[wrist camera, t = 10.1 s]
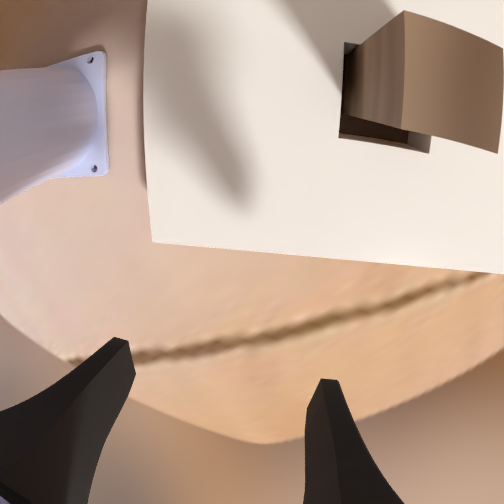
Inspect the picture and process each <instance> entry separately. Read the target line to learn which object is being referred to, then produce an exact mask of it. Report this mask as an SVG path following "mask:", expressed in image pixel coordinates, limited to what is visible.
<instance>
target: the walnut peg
mask: <svg viewBox="0 0 504 504" xmlns="http://www.w3.org/2000/svg"><path fill="white" fill-rule="evenodd" d="M503 92H504V56H503V48H501V47H499V46H497V45H495V44H493V43H491V42H489V41H487V40H485V39H483V38H481V37H478V36H476V35H474V34H472V33H469V32H467V31H464V30H462V29H459V28H457V27H454V26H452V25H449V24H446V23H444V22H441V21H438V20H435V19H432V18H429V17H426V16H423V15H419V14H416V13H413V12H409V11H405V10H403V11H402V12H401V13H399V14H398V15H397V16H395V17H394V18H393V19H392V20H390V21H389V22H388V23H386V24H385V25H384V26H383V27H381V28H380V29H379V30H378V31H376V32H375V33H374V34H373V35H371V36H370V37H369V38H368V39H367V40H365V41H364V42H363V43H362V44H361V45H359V46H358V47H357V48H356V49H355V50H353V51H352V52H351V53H350V54H349V55H347V56H346V61H345V88H344V107H343V114H344V115H348V116H353V117H357V118H361V119H365V120H369V121H373V122H377V123H381V124H385V125H388V126H392V127H395V128H399V129H403V130H408V131H413V132H418V133H422V134H427V135H431V136H435V137H440V138H444V139H448V140H451V141H455V142H459V143H463V144H466V145H470V146H473V147H477V148H480V149H483V150H486V151H489V152H493V153H496V154H498V148H499V141H500V133H501V123H502V111H503Z"/></svg>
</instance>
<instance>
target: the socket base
mask: <svg viewBox="0 0 504 504" xmlns="http://www.w3.org/2000/svg"><path fill="white" fill-rule="evenodd" d="M403 10H405V11H409V12H413V13H416V14H419V15H423V16H426V17H429V18H432V19H435V20H438V21H441V22H444V23H446V24H449V25H452V26H454V27H457V28H459V29H462V30H464V31H467V32H469V33H472V34H474V35H476V36H478V37H481V38H483V39H485V40H487V41H489V42H491V43H493V44H495V45H497V46H499V47H501V48H503V56H504V0H148V1H147V13H146V26H145V43H144V73H143V114H144V145H145V164H146V179H147V192H148V203H149V214H150V223H151V232H152V241H153V242H156V243H167V244H178V245H189V246H200V247H212V248H223V249H234V250H245V251H256V252H267V253H278V254H289V255H301V256H312V257H323V258H334V259H345V260H356V261H367V262H378V263H389V264H400V265H411V266H422V267H433V268H444V269H455V270H466V271H477V272H488V273H498V274H504V92H503V111H502V123H501V133H500V141H499V148H498V154H496V153H493V152H489V151H486V150H483V149H480V148H477V147H473V146H470V145H466V144H463V143H459V142H455V141H451V140H448V139H444V138H440V137H435V136H431V135H427V134H422V133H418V132H413V131H409V135H408V143H407V144H404V143H399V142H394V141H388V140H382V139H377V138H371V137H364V136H358V135H351V134H343V133H339V124H340V111H341V97H342V80H343V57H344V54H348V55H349V54H350V53H351V52H352V51H353V50H355V49H356V48H357V47H358V46H359V45H361V44H362V43H363V42H364V41H365V40H367V39H368V38H369V37H370V36H371V35H373V34H374V33H375V32H376V31H378V30H379V29H380V28H381V27H383V26H384V25H385V24H386V23H388V22H389V21H390V20H392V19H393V18H394V17H395V16H397V15H398V14H399V13H401V12H402V11H403Z"/></svg>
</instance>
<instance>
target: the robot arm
mask: <svg viewBox="0 0 504 504" xmlns="http://www.w3.org/2000/svg"><path fill="white" fill-rule="evenodd" d="M92 57H93V62H92V63H91V58H92ZM94 165H96V166H97V171H96V170H95V168H94ZM109 168H110V166H109V154H108V139H107V119H106V53H105V52H103V51H95V52H91V53H88V54H84V55H81V56H77V57H74V58H71V59H68V60H65V61H62V62H59V63H56V64H53V65H50V66H47V67H45V68H22V69H8V70H0V204H2V203H4V202H6V201H8V200H9V199H11V198H13V197H15V196H17V195H19V194H21V193H23V192H24V191H26V190H28V189H30V188H32V187H34V186H36V185H38V184H40V183H43V182H45V181H47V180H49V179H51V178H63V177H84V176H103V175H105V174H107V173H108V172H109ZM135 375H136V372H135V369H134V364H133V360H132V356H131V352H130V347H129V343H128V341H127V340H123V339H120V338H116V337H114V338H112V339H111V340H110V341H108V342H107V343H106V344H105V345H104V346H102V347H101V348H100V349H99V350H98V351H96V352H95V353H94V354H93V355H91V356H90V357H89V358H88V359H87V360H85V361H84V362H83V363H81V364H80V365H79V366H78V367H76V368H75V369H74V370H73V371H71V372H70V373H69V374H67V375H66V376H64V377H63V378H62V379H60V380H59V381H57V382H56V383H55V384H53V385H52V386H50V387H49V388H47V389H45V390H44V391H42V392H40V393H39V394H37V395H35V396H33V397H31V398H29V399H28V400H26V401H24V402H22V403H19V404H17V405H15V406H13V407H10V408H8V409H5V410H3V411H0V504H87V503H88V497H89V493H90V489H91V484H92V480H93V477H94V473H95V470H96V466H97V463H98V460H99V457H100V454H101V451H102V448H103V445H104V443H105V441H106V438H107V436H108V434H109V432H110V430H111V428H112V426H113V424H114V422H115V420H116V418H117V417H118V415H119V413H120V411H121V409H122V407H123V405H124V403H125V401H126V399H127V397H128V395H129V392H130V389H131V387H132V384H133V381H134V378H135ZM303 504H404V503H403V502H402V500H401V499H400V498H399V496H398V495H397V494H396V493H395V491H393V489H392V488H391V486H390V485H389V484H388V482H387V481H386V479H385V478H384V476H383V475H382V473H381V472H380V470H379V468H378V467H377V465H376V464H375V462H374V460H373V459H372V457H371V455H370V453H369V451H368V449H367V448H366V445H365V444H364V442H363V439H362V438H361V435H360V433H359V431H358V429H357V427H356V424H355V422H354V420H353V418H352V415H351V413H350V410H349V408H348V406H347V403H346V400H345V398H344V395H343V392H342V390H341V387H340V384H339V382H338V380H331V379H321V380H320V382H319V384H318V386H317V388H316V390H315V393H314V395H313V397H312V399H311V401H310V403H309V405H308V407H307V414H306V424H305V493H304V501H303Z"/></svg>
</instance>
